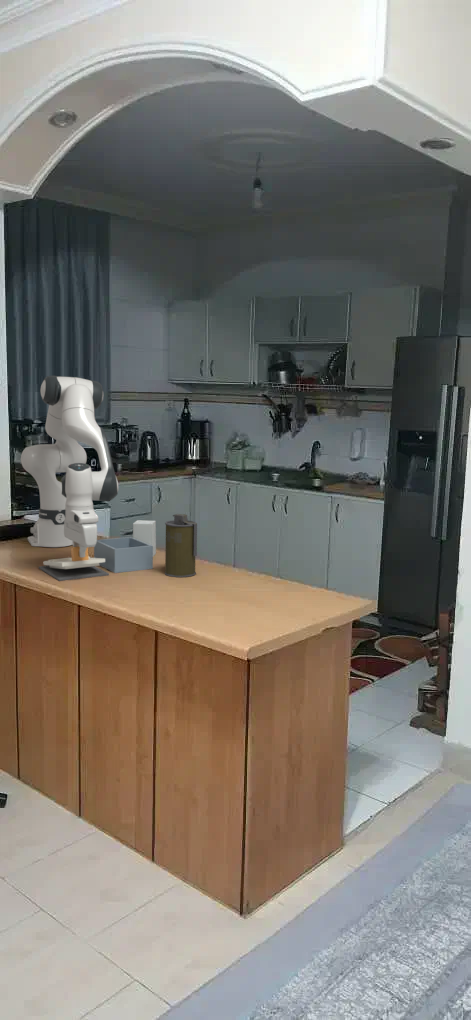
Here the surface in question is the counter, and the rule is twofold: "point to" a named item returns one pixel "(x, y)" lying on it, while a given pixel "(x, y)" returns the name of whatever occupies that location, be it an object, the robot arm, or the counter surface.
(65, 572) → the mat
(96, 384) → the robot arm
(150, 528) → the supplement box
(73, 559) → the lid
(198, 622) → the counter surface
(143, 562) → the grey storage box
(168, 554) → the canister
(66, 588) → the counter surface
